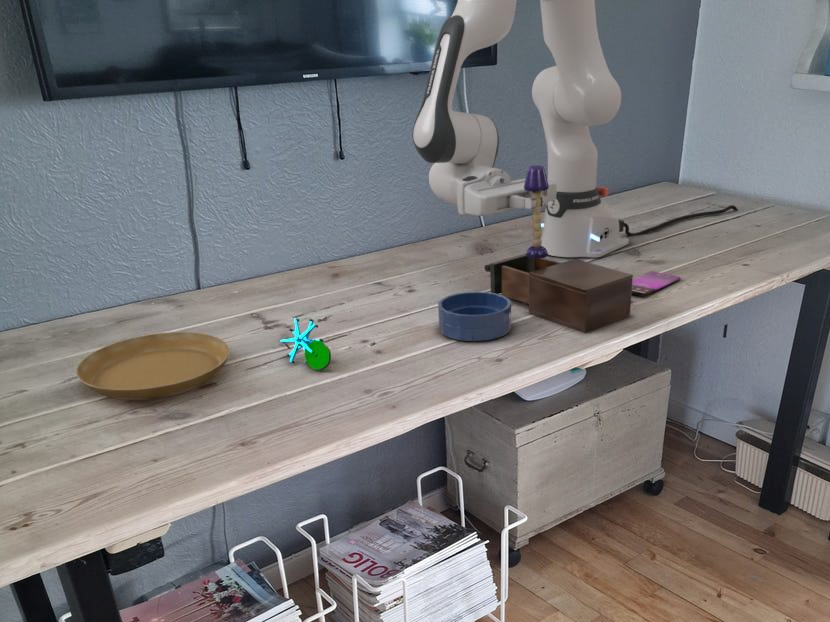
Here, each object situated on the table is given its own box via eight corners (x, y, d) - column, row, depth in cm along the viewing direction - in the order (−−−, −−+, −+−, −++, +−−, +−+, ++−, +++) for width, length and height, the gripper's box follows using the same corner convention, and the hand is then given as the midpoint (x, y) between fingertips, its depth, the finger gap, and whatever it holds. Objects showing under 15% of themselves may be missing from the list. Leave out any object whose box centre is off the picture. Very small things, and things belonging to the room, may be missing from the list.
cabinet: (528, 313, 169) (529, 272, 165) (573, 298, 176) (575, 258, 172) (584, 333, 160) (586, 289, 156) (629, 316, 167) (633, 274, 163)
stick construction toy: (270, 345, 151) (294, 307, 149) (297, 355, 157) (320, 319, 155) (310, 382, 145) (335, 343, 144) (336, 391, 151) (361, 354, 150)
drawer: (476, 289, 179) (476, 258, 176) (516, 277, 186) (517, 247, 183) (537, 310, 168) (538, 278, 165) (578, 296, 174) (579, 265, 171)
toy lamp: (529, 260, 169) (531, 169, 160) (518, 253, 172) (520, 165, 164) (551, 257, 170) (554, 167, 162) (540, 251, 174) (543, 163, 165)
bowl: (478, 312, 170) (477, 287, 168) (525, 329, 162) (525, 303, 159) (424, 329, 163) (423, 303, 160) (471, 348, 154) (470, 321, 152)
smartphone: (613, 291, 179) (613, 286, 179) (651, 273, 189) (651, 269, 189) (644, 298, 175) (644, 293, 175) (681, 279, 185) (681, 275, 185)
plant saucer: (53, 407, 136) (47, 388, 134) (116, 348, 157) (112, 331, 155) (206, 408, 135) (202, 389, 133) (249, 349, 155) (246, 331, 154)
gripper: (527, 199, 182) (576, 210, 173) (452, 215, 170) (500, 229, 161) (528, 167, 179) (578, 177, 170) (451, 182, 167) (500, 194, 158)
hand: (539, 202), depth 165 cm, fingers closed on toy lamp
